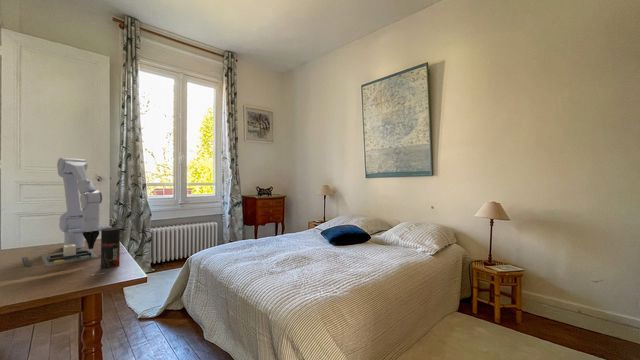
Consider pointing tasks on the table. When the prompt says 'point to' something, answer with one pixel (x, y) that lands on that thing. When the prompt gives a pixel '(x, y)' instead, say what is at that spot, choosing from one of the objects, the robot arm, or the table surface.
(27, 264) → the dark gray bar
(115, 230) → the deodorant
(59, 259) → the panel
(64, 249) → the toggle
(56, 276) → the table surface
